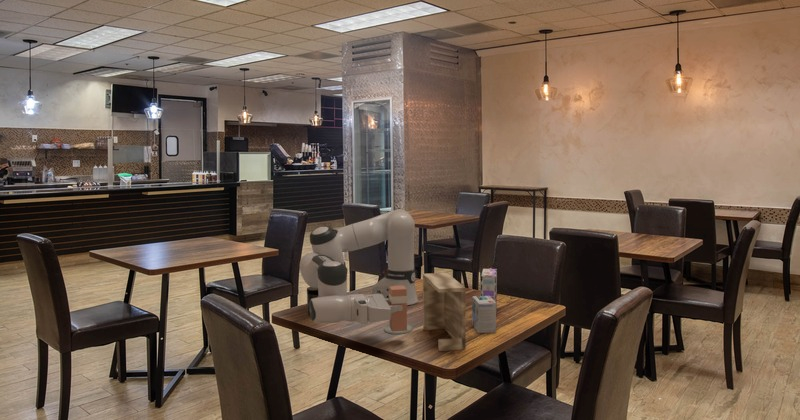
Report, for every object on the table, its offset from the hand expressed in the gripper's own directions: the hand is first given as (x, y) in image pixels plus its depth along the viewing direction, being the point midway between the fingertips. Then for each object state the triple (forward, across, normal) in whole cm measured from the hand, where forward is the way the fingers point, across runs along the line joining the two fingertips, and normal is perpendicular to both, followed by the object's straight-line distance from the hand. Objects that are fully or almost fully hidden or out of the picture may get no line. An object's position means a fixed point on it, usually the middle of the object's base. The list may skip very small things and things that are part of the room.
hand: (400, 304), depth 190 cm
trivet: (+1, -13, -13) cm, 18 cm away
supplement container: (-27, -40, -13) cm, 50 cm away
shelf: (+15, 0, -13) cm, 19 cm away
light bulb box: (+32, -8, -13) cm, 35 cm away
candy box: (+40, -27, -13) cm, 50 cm away
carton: (-1, 0, -8) cm, 8 cm away
